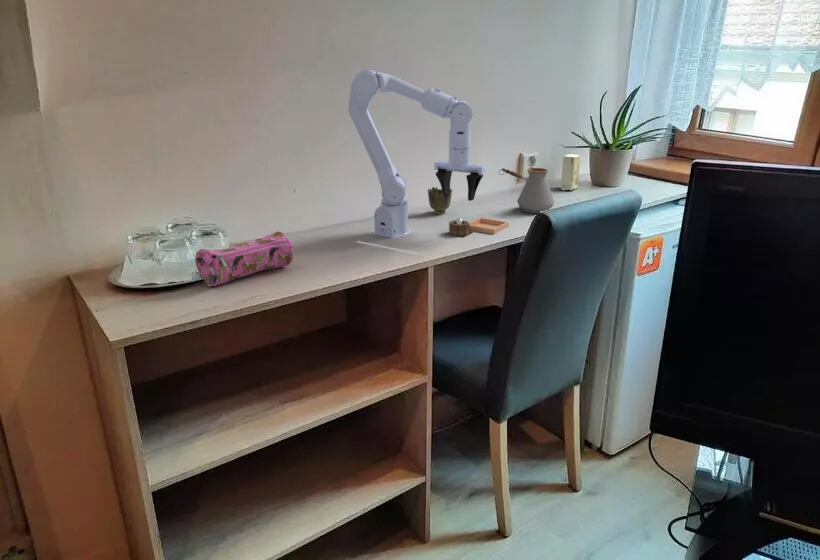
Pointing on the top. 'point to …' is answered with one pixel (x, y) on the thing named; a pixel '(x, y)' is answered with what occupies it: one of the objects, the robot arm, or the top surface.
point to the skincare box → (570, 172)
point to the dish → (488, 225)
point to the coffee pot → (534, 191)
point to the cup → (439, 200)
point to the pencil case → (244, 259)
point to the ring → (459, 228)
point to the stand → (459, 221)
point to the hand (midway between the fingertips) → (458, 198)
